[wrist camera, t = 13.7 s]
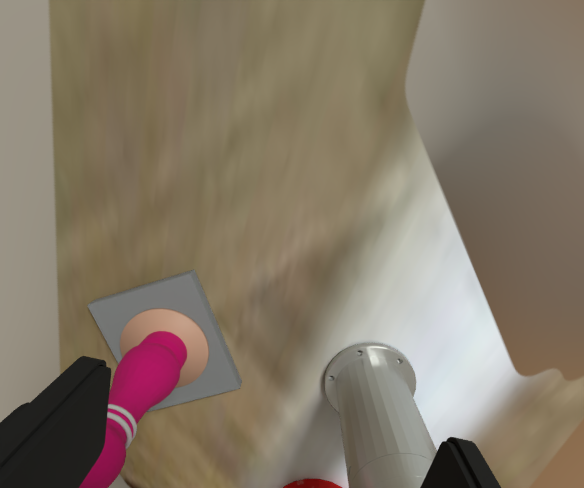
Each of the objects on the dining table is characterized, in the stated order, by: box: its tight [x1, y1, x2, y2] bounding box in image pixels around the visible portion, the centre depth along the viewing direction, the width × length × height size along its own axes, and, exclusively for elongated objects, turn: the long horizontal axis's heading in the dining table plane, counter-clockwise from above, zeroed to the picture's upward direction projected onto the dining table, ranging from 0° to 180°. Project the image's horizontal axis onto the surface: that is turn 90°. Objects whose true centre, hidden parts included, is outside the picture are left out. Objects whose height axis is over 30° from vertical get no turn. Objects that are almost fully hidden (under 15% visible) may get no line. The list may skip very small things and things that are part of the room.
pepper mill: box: [79, 331, 187, 488], centre depth 33 cm, size 7×7×20 cm
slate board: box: [87, 270, 242, 412], centre depth 44 cm, size 18×15×2 cm
